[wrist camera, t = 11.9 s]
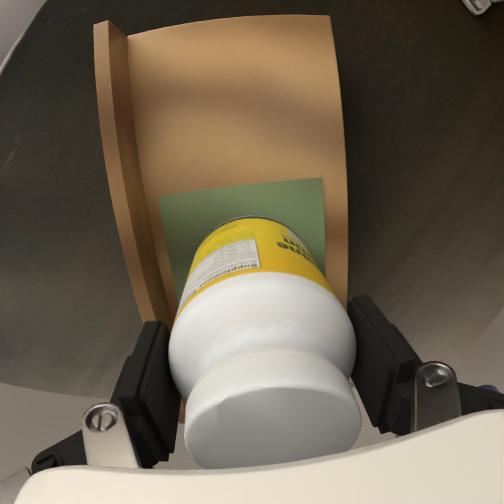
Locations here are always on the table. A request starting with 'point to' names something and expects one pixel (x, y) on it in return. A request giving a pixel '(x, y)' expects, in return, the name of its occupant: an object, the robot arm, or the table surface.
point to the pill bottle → (262, 351)
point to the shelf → (221, 143)
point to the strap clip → (478, 5)
